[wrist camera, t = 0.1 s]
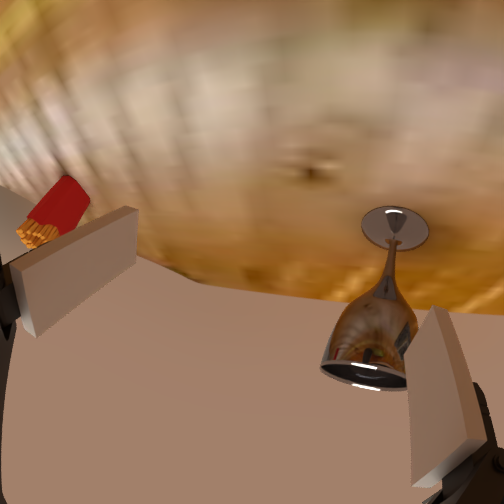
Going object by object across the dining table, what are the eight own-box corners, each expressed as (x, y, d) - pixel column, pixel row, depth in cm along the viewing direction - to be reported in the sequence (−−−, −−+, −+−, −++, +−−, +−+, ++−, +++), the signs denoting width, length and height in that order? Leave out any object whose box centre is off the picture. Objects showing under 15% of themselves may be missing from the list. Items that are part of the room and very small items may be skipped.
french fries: (96, 206, 51) (56, 269, 45) (82, 204, 52) (44, 263, 46) (68, 169, 43) (20, 235, 37) (55, 169, 45) (10, 231, 39)
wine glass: (427, 257, 31) (406, 395, 24) (359, 248, 35) (324, 379, 28) (437, 208, 25) (421, 376, 18) (354, 199, 29) (312, 356, 22)
